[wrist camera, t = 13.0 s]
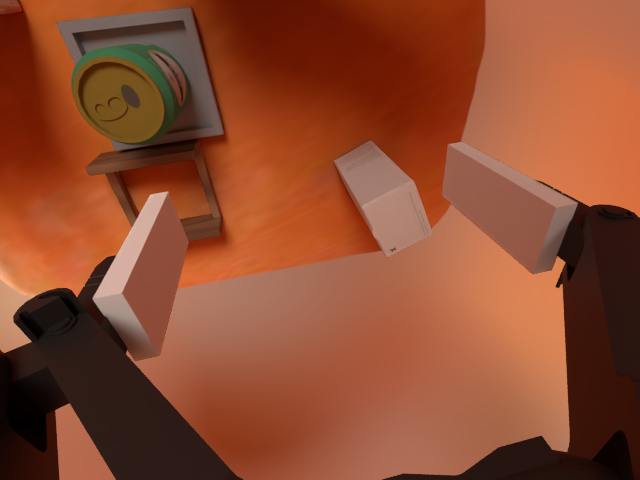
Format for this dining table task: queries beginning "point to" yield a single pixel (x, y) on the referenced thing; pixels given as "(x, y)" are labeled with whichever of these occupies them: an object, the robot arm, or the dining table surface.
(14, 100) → the dining table surface
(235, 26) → the dining table surface
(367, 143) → the skincare box
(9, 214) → the dining table surface
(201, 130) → the tray
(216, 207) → the caddy
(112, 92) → the beverage can
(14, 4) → the cracker box
